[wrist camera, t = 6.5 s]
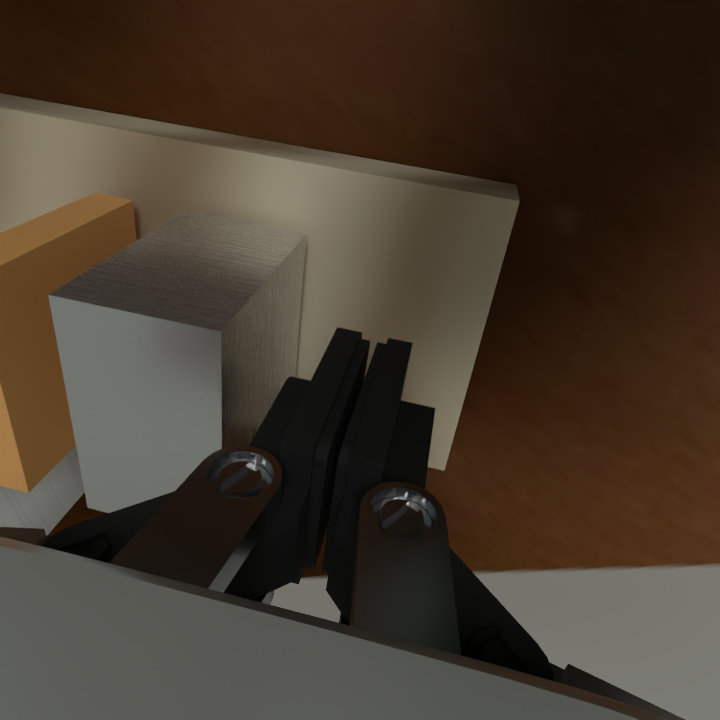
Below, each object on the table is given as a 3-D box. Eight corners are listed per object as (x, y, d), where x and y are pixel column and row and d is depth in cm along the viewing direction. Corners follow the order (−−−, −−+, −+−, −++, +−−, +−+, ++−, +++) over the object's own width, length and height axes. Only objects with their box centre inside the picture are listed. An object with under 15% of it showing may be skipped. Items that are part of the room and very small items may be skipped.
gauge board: (516, 184, 14) (538, 308, 8) (447, 438, 18) (427, 644, 12) (-80, 78, 15) (-444, 113, 9) (-13, 335, 19) (-233, 472, 13)
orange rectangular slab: (133, 200, 14) (-27, 279, 9) (151, 412, 17) (40, 539, 13) (94, 192, 14) (-81, 267, 9) (120, 405, 17) (1, 529, 13)
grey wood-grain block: (306, 233, 13) (221, 331, 9) (293, 404, 16) (221, 541, 12) (185, 210, 13) (48, 294, 9) (192, 381, 16) (87, 507, 12)
